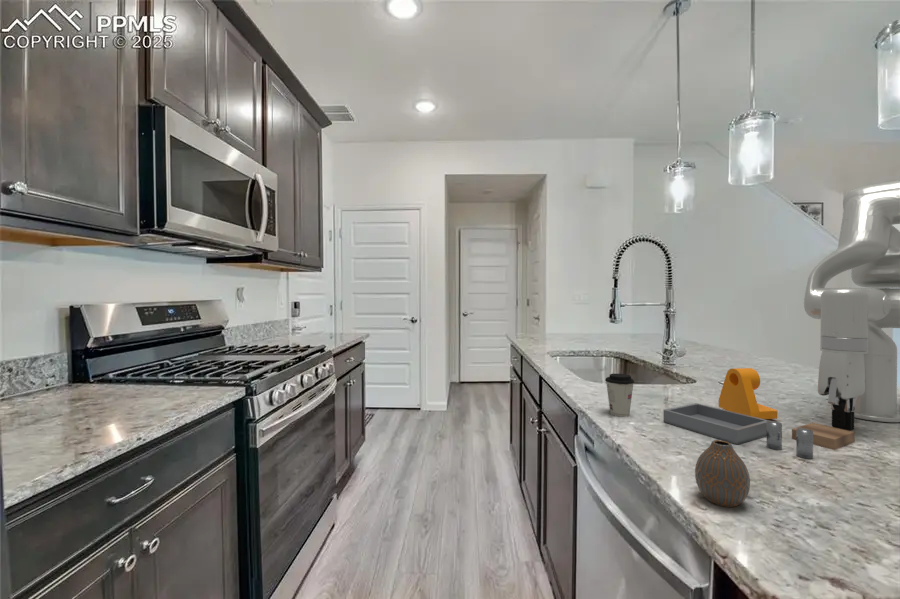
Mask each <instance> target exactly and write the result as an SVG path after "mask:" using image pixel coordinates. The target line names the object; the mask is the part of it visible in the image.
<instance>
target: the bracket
mask: <svg viewBox="0 0 900 599" xmlns="http://www.w3.org/2000/svg"><path fill="white" fill-rule="evenodd" d="M725 374H726V375H725V378H724V381H723V385H722V387H721V391H720V394H719V398H718V408H719V409H723V410H727V411H731V412H736V413H740V414H744V415H748V416H752V417H756V418H761V419H765V420H774V419H775V420H777V419H778V409H775V408H772V407H769V406H766V405H763V404H761V403H758V400H757V398H756V394H755V390H758V388H759V387H760V385H761V376H760V374H759V372H757V370H756V369H754V368H752V367H746V368H745V367H741V368H730V369H728V370H727V372H726V373H725Z"/></svg>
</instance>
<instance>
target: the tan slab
mask: <svg viewBox="0 0 900 599" xmlns="http://www.w3.org/2000/svg"><path fill="white" fill-rule="evenodd" d="M797 428H804V429H809V430H812V431H813V446H819V447H821V448H822V447H823V448H825V449H829V450H833V451H835V450H838V449H840V448H843V447H845V446H848V445H850V444H853V443H855V440H856V438H855V437H856V435H855V434H856V432H855V431H853V430H851V431H848V430H844V429H839V428H835V427H832V426H830V425H827V424H821V423H818V422H817V423H816V422H810V423H806V424H803V425H800V426H797V427H795V428H792V429H791V440H795V441H796V429H797Z"/></svg>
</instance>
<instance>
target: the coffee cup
mask: <svg viewBox="0 0 900 599" xmlns="http://www.w3.org/2000/svg"><path fill="white" fill-rule="evenodd" d="M604 381H606V390H607V396H608V397H607V398H608V406H609V413H610V415H612V416H615V417H621V418H622V417H624V418H625V417H629V416H631V415H630V414H631V407H632V406H631V404H632V398H633V390H634V384H635V380H634V379H633V378H632V375H630V374H625V373H610V374H609V376H607V377H606V378H605V380H604Z"/></svg>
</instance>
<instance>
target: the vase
mask: <svg viewBox="0 0 900 599" xmlns="http://www.w3.org/2000/svg"><path fill="white" fill-rule="evenodd" d="M694 476H695V477H694V478H695V482H696V485H697V488H698V489H699V491H700V493H701V495H703V497H704V498H705V499H707V500H708V501H709V502H710V503H713V504H715V505H717V506H720V507H726V508H734V507H737V506H739V505H741V504H743V502H745V501H746V499H747V498H748V495H749V493H750V491H751V490H750V489H751V478H750V473H749V469H748V468H747V466H746V463H745V462H744V461H743V460H742V458H741V457H740V455H738V453H737V452H736V450H734V447H733V444H732V443H730V442H727V441H723V440H720V439H714V440H712V442H711V443H710V444H709V446H708V447H707V448H705V450H704V451H703V452H702V453H701V454H700V455H699V456H698V458H697V461H696V463H695V468H694Z"/></svg>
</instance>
